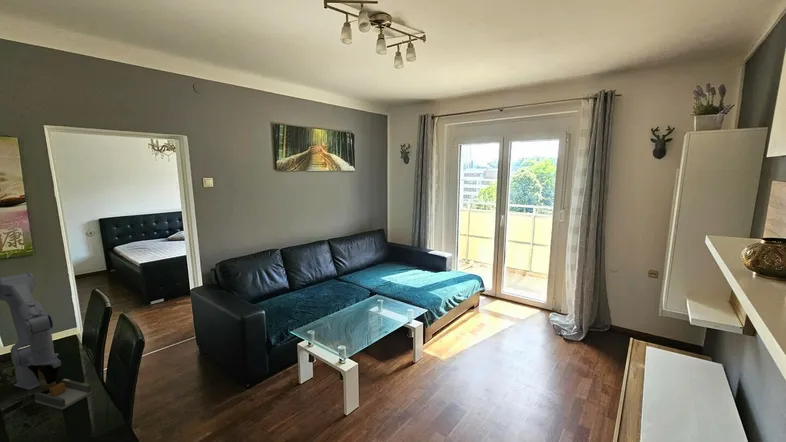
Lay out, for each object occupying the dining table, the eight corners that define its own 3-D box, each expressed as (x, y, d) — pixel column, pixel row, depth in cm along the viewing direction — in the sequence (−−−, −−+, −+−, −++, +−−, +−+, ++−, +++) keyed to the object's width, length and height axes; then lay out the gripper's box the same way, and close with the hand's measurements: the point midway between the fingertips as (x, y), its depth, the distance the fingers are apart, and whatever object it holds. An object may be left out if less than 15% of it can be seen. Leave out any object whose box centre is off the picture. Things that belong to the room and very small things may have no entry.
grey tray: (35, 402, 118) (33, 393, 118) (65, 387, 127) (64, 378, 127) (62, 409, 115) (60, 400, 114) (91, 393, 123) (90, 384, 123)
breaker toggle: (50, 396, 120) (48, 388, 120) (62, 389, 124) (61, 382, 123) (53, 397, 120) (52, 389, 119) (65, 390, 123) (64, 383, 123)
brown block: (37, 389, 121) (34, 370, 120) (51, 383, 125) (48, 364, 124) (45, 391, 120) (42, 371, 119) (58, 385, 124) (55, 365, 123)
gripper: (69, 345, 122) (73, 378, 124) (42, 339, 126) (47, 372, 128) (44, 355, 116) (50, 390, 117) (17, 349, 119) (23, 383, 121)
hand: (47, 381), depth 122 cm, fingers closed on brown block, 4 cm apart
